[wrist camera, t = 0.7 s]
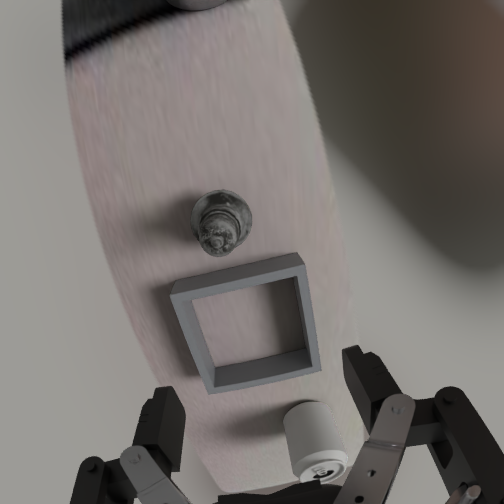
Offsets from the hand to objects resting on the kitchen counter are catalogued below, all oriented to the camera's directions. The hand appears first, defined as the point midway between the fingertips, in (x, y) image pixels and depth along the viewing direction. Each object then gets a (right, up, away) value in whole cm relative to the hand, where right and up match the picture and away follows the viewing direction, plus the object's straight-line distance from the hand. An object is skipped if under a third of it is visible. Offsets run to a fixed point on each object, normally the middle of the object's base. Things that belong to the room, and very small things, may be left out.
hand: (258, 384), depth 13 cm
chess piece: (-3, +10, +20) cm, 22 cm away
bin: (-1, -2, +23) cm, 24 cm away
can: (+8, -19, +29) cm, 36 cm away
